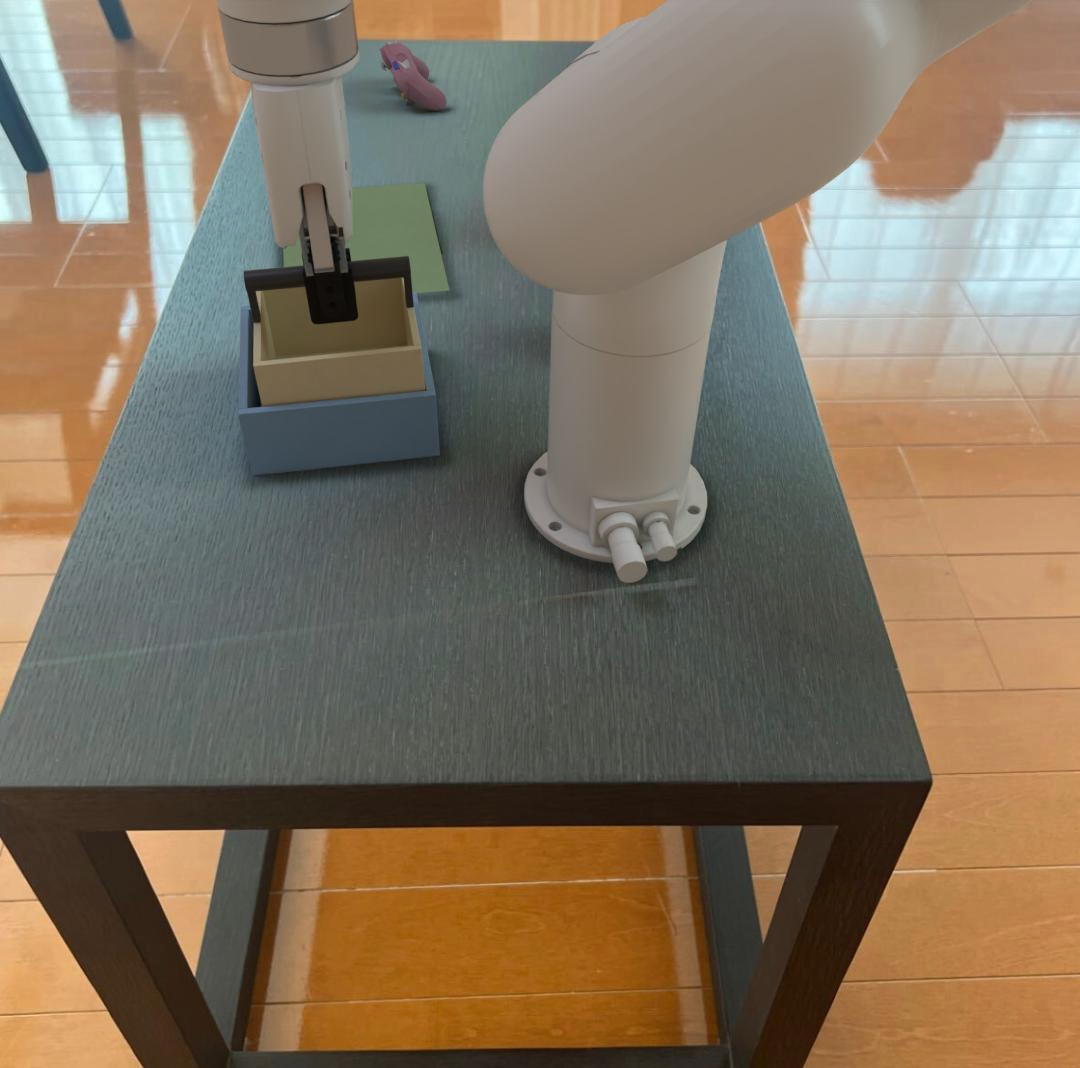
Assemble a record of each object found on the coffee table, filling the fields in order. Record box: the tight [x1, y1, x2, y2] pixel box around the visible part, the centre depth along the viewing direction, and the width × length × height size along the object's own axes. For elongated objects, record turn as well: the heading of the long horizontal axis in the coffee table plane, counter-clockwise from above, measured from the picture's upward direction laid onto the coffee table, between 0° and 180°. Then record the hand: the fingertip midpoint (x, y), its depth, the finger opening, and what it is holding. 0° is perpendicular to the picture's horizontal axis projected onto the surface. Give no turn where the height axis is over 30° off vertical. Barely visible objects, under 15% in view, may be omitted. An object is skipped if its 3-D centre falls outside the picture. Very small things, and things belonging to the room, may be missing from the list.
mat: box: [282, 182, 451, 295], centre depth 99 cm, size 20×14×1 cm
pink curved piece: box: [379, 39, 448, 112], centre depth 120 cm, size 10×5×7 cm, turn 17°
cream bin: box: [243, 256, 425, 407], centre depth 75 cm, size 11×11×11 cm
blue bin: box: [237, 292, 441, 476], centre depth 79 cm, size 13×13×6 cm
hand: (334, 310), depth 74 cm, fingers closed on cream bin, 1 cm apart
